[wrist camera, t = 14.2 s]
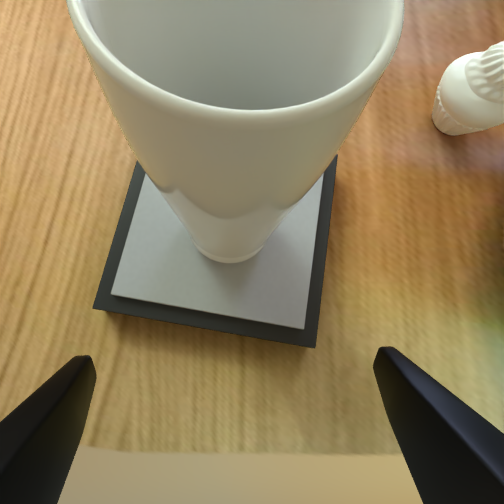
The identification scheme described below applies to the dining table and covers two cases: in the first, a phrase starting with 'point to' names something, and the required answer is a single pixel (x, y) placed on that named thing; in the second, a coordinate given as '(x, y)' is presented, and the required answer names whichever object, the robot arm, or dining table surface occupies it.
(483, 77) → the muffin
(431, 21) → the dining table surface
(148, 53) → the white cup
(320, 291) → the scale
